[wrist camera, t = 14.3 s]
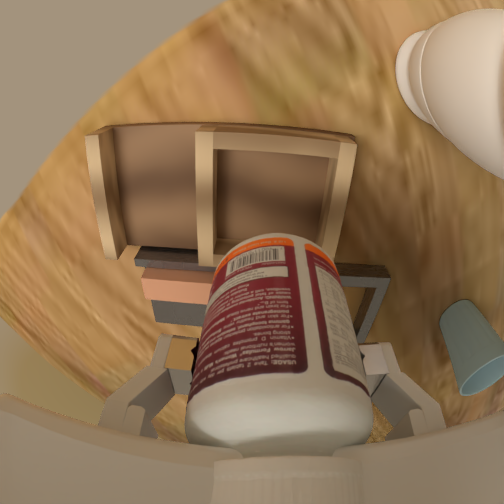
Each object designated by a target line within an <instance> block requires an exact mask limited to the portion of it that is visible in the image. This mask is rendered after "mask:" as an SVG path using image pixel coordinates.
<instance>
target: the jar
mask: <svg viewBox="0 0 504 504" xmlns="http://www.w3.org/2000/svg"><path fill="white" fill-rule="evenodd" d="M395 72H396V80H397V84H398V88H399V91H400V93H401V95H402V97H403V99H404V101H405V103H406V104H407V106H408V107H409V108H410V109H411V111H412V112H413V113H414V114H415V115H416V116H418V117H419V118H420V119H422V120H423V121H425V122H427V123H429V124H431V125H433V127H434V128H435V129H436V130H438V131H439V132H440V133H441V134H442V135H443V136H444V137H446V138H447V139H448V140H449V141H451V142H452V143H453V144H454V145H455V146H456V147H457V148H458V149H459V150H460V151H461V152H462V153H463V154H465V155H466V156H467V157H468V158H470V159H471V160H472V161H473V162H475V163H476V164H478V165H479V166H481V167H482V168H484V169H485V170H487V171H488V172H490V173H492V174H494V175H495V176H497V177H499V178H501V179H503V180H504V9H478V10H472V11H468V12H464V13H461V14H458V15H456V16H453V17H451V18H449V19H447V20H446V21H443V22H441V23H438V24H436V25H434V26H433V27H431V28H430V29H428V30H424V31H419V32H416V33H414V34H412V35H411V36H409V37H408V38H407V39H406V40H405V41H404V42H403V44H402V45H401V47H400V49H399V51H398V54H397V58H396V66H395Z"/></svg>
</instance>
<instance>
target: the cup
mask: <svg viewBox="0 0 504 504" xmlns="http://www.w3.org/2000/svg"><path fill="white" fill-rule="evenodd" d="M439 325H440V328H441V331H442V334H443V337H444V340H445V343H446V346H447V349H448V353H449V356H450V359H451V362H452V366H453V369H454V373H455V376H456V381H457V385H458V388H459V392H460V394H461V395H463V396H469V395H473V394H476V393H478V392H481V391H483V390H484V389H486V388H488V387H489V386H491V385H492V384H494V383H495V382H496V381H498V380H499V379H500V378H501V377H502V376H503V375H504V342H503V341H502V339H501V338H500V337H499V335H498V334H497V333H496V331H495V330H494V329H493V328H492V326H491V325H490V324H489V322H488V321H487V320H486V319H485V317H484V316H483V315H482V314H481V312H480V311H479V310H478V309H477V307H476V306H475V305H474V304H473V303H472V302H471V301H469V300H461V301H458V302H456V303H454V304H452V305H451V306H450V307H449V308H448V309H446V311H445V312H444V313H443V314H442V316H441V318H440V322H439Z"/></svg>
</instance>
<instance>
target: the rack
mask: <svg viewBox="0 0 504 504" xmlns="http://www.w3.org/2000/svg"><path fill="white" fill-rule="evenodd" d="M354 139H355V137H354V136H353V135H352V134H346V133H339V132H332V131H324V130H316V129H307V128H298V127H288V126H276V125H262V124H245V123H219V122H169V123H143V124H126V125H113V126H105V127H102V128H100V129H98V130H96V131H94V132H92V133H90V134H88V135H86V136H85V143H86V152H87V160H88V168H89V175H90V182H91V188H92V194H93V200H94V206H95V211H96V217H97V222H98V227H99V231H100V236H101V241H102V245H103V250H104V254H105V258H106V259H109V260H118V259H119V257H120V255H121V254H122V252H123V251H124V249H125V247H126V246H127V245H138V246H155V247H171V248H187V249H198V260H199V266H211V267H217V266H218V264H219V263H220V261H221V260H222V258H223V257H224V256H225V255H226V254H227V253H228V252H229V251H230V250H231V249H232V248H233V247H235V246H236V245H238V244H239V243H241V242H243V241H245V240H247V239H249V238H252V237H255V236H259V235H263V234H269V233H285V234H291V235H296V236H299V237H302V238H305V239H307V240H309V241H311V242H313V243H315V244H317V245H318V246H319V247H321V248H322V249H323V250H324V251H325V252H326V253H327V254H328V255H329V256H330V258H331V259H332V261H333V262H334V257H335V253H336V249H337V245H338V240H339V236H340V232H341V227H342V223H343V218H344V213H345V208H346V204H347V199H348V194H349V188H350V183H351V178H352V173H353V167H354V161H355V156H356V150H357V144H356V143H355V142H354Z"/></svg>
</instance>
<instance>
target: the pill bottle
mask: <svg viewBox="0 0 504 504" xmlns="http://www.w3.org/2000/svg"><path fill="white" fill-rule="evenodd" d="M372 427H373V410H372V401H371V397H370V394H369V389H368V385H367V380H366V376H365V372H364V367H363V363H362V359H361V355H360V351H359V347H358V343H357V339H356V335H355V331H354V327H353V323H352V320H351V316H350V312H349V309H348V305H347V301H346V298H345V294H344V291H343V288H342V284H341V280H340V277H339V274H338V271H337V269H336V266H335V264H334V262H333V261H332V259H331V258H330V256H329V255H328V254H327V253H326V252H325V251H324V250H323V249H322V248H321V247H319V246H318V245H317V244H315V243H313V242H311V241H309V240H307V239H305V238H302V237H299V236H296V235H291V234H285V233H269V234H263V235H259V236H255V237H252V238H249V239H247V240H245V241H243V242H241V243H239V244H238V245H236V246H235V247H233V248H232V249H231V250H230V251H229V252H228V253H227V254H226V255H225V256H224V257H223V258H222V260H221V261H220V263H219V264H218V266H217V268H216V271H215V274H214V277H213V282H212V286H211V290H210V295H209V299H208V304H207V308H206V313H205V319H204V324H203V328H202V333H201V339H200V343H199V348H198V353H197V358H196V363H195V369H194V373H193V378H192V383H191V389H190V392H189V394H188V402H187V407H186V416H185V433H186V436H187V439H188V441H189V443H190V444H196V445H205V446H216V447H227V448H232V449H235V450H237V451H238V452H240V453H241V454H242V456H243V458H236V459H227V460H219V461H215V462H214V474H213V476H214V484H213V491H212V497H211V504H365V502H364V490H363V482H362V478H363V471H362V462H361V461H359V460H355V459H349V458H343V457H332V455H333V453H334V452H335V450H336V449H338V448H340V447H343V446H351V445H360V444H365V443H366V441H367V440H368V438H369V436H370V434H371V431H372Z"/></svg>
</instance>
